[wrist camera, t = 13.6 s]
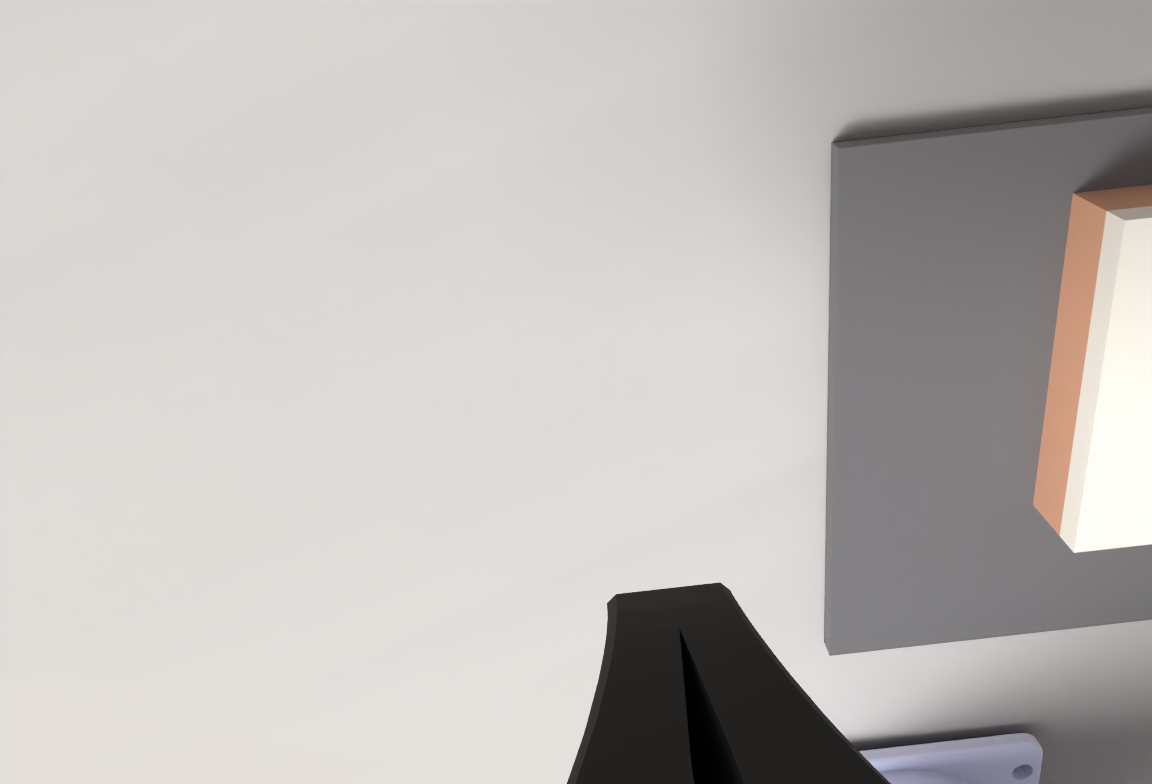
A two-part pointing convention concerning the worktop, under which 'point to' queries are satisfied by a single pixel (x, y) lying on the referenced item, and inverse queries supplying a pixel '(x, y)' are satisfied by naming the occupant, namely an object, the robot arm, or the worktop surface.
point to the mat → (959, 383)
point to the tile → (1101, 378)
